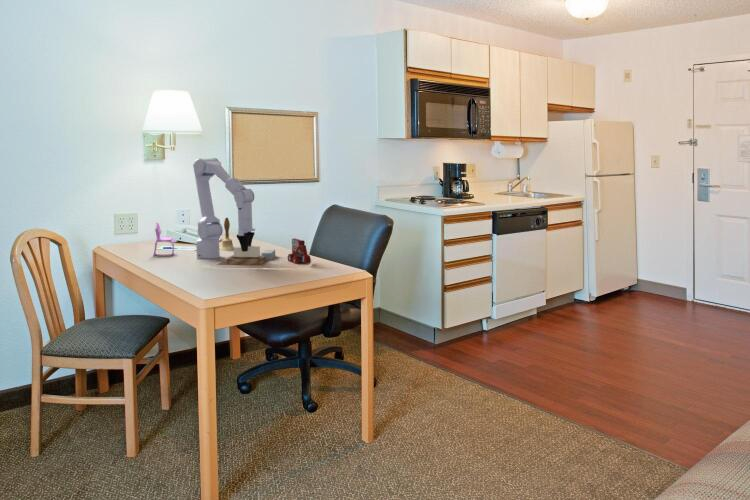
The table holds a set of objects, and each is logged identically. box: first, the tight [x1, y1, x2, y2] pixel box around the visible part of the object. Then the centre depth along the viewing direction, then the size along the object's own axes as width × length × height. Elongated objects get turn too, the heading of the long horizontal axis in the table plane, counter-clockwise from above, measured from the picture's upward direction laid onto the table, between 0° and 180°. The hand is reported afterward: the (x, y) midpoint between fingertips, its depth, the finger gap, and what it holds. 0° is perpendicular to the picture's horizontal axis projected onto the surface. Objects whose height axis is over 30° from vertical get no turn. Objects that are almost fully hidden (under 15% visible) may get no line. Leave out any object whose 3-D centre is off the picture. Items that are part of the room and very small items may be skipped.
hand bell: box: [219, 217, 235, 252], centre depth 278 cm, size 8×8×16 cm
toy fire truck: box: [287, 238, 312, 265], centre depth 249 cm, size 7×12×10 cm, turn 32°
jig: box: [216, 254, 273, 266], centre depth 253 cm, size 20×22×3 cm
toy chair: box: [153, 221, 175, 257], centre depth 268 cm, size 8×9×15 cm
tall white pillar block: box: [233, 245, 261, 257], centre depth 247 cm, size 10×4×4 cm, turn 87°
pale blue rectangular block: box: [260, 249, 276, 261], centre depth 257 cm, size 4×9×3 cm, turn 177°
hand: (246, 250), depth 247 cm, fingers closed on tall white pillar block, 4 cm apart
